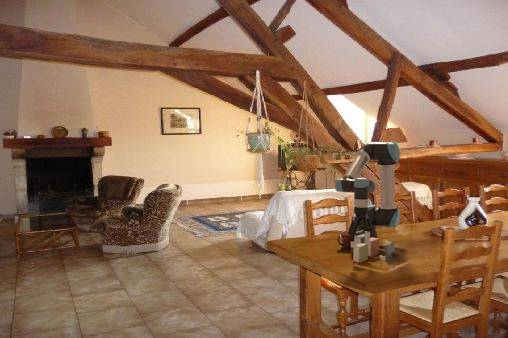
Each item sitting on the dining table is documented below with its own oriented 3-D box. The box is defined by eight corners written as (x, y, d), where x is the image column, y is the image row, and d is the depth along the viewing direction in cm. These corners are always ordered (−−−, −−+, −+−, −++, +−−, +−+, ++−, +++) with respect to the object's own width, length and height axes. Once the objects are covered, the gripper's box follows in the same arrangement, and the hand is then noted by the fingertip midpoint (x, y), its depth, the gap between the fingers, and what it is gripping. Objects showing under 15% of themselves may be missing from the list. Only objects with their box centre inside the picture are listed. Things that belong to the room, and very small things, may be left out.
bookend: (385, 259, 251) (385, 245, 250) (392, 256, 256) (393, 242, 256) (391, 261, 248) (391, 246, 248) (398, 258, 254) (398, 243, 253)
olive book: (353, 263, 250) (353, 245, 249) (361, 260, 255) (361, 243, 255) (359, 265, 247) (359, 246, 246) (367, 262, 253) (367, 244, 252)
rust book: (364, 255, 260) (364, 239, 260) (372, 252, 266) (372, 237, 265) (371, 256, 257) (371, 241, 256) (378, 254, 263) (379, 238, 262)
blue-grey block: (354, 253, 265) (355, 236, 264) (362, 250, 270) (362, 233, 270) (360, 254, 262) (361, 237, 261) (368, 251, 267) (368, 235, 267)
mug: (348, 247, 284) (348, 231, 283) (358, 250, 276) (358, 233, 275) (333, 249, 279) (333, 233, 278) (342, 253, 271) (342, 236, 270)
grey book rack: (350, 255, 266) (351, 233, 265) (361, 251, 273) (361, 230, 272) (390, 264, 248) (390, 240, 247) (400, 260, 255) (400, 237, 254)
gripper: (353, 210, 237) (353, 250, 239) (379, 204, 254) (378, 242, 256) (341, 208, 243) (341, 247, 244) (367, 203, 260) (367, 240, 261)
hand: (360, 245), depth 250 cm, fingers open, 13 cm apart
